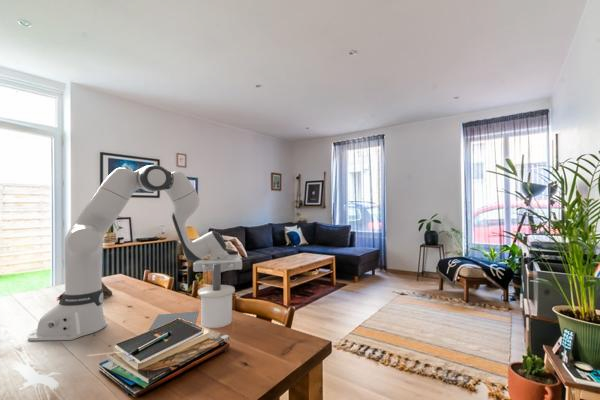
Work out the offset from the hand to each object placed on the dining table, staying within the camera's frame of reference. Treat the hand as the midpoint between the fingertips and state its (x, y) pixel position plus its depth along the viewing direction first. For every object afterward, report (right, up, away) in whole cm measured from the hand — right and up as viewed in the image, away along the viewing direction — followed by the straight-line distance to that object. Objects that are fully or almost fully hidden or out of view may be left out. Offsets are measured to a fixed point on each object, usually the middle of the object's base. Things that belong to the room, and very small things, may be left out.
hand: (217, 268), depth 121 cm
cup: (+1, -20, -4) cm, 21 cm away
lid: (+1, -8, -4) cm, 9 cm away
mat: (-16, -20, -3) cm, 26 cm away
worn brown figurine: (-66, -21, +26) cm, 74 cm away
